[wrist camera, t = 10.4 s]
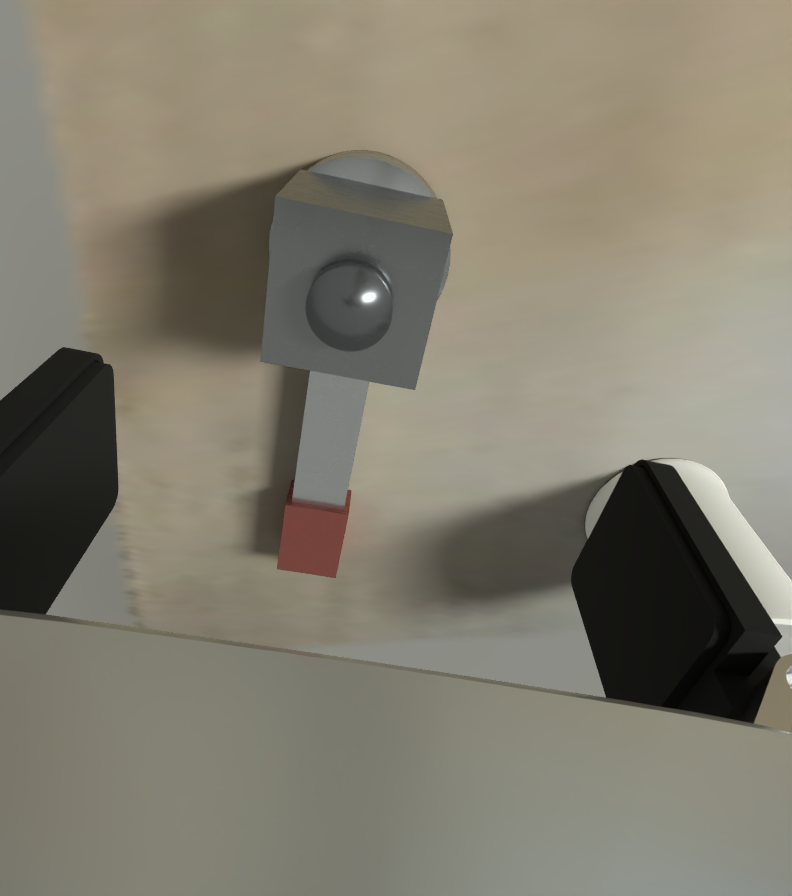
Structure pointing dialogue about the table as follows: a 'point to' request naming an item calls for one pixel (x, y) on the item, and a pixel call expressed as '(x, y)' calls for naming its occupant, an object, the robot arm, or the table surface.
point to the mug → (727, 541)
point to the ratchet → (334, 411)
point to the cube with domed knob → (353, 278)
